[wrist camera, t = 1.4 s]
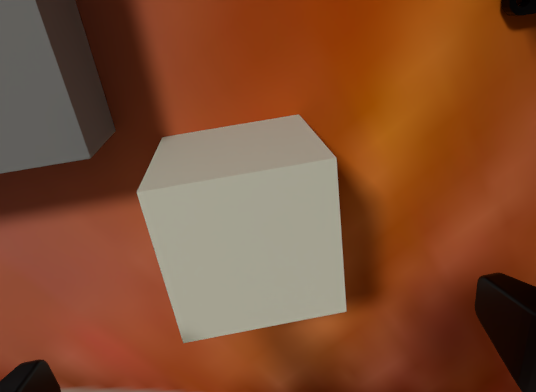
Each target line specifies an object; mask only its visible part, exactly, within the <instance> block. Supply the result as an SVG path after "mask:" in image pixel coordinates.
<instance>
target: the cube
mask: <svg viewBox="0 0 536 392" xmlns="http://www.w3.org/2000/svg"><path fill="white" fill-rule="evenodd" d="M137 195H138V199H139V202H140V205H141V208H142V211H143V215H144V218H145V221H146V224H147V227H148V231H149V234H150V237H151V240H152V244H153V247H154V250H155V253H156V256H157V260H158V263H159V266H160V269H161V272H162V276H163V279H164V282H165V285H166V289H167V292H168V295H169V298H170V301H171V305H172V308H173V311H174V314H175V317H176V321H177V324H178V327H179V330H180V334H181V337H182V340H183V343H186V342H192V341H197V340H202V339H207V338H212V337H217V336H223V335H228V334H233V333H238V332H243V331H248V330H254V329H259V328H264V327H269V326H274V325H279V324H285V323H290V322H295V321H300V320H305V319H310V318H316V317H321V316H326V315H331V314H336V313H341V312H347V311H346V296H345V280H344V265H343V250H342V234H341V219H340V203H339V188H338V173H337V158H336V157H335V156H334V154H333V153H332V152H331V151H330V150H329V149H328V147H327V146H326V145H325V144H324V143H323V142H322V141H321V139H320V138H319V137H318V136H317V135H316V134H315V132H314V131H313V130H312V129H311V128H310V127H309V126H308V124H307V123H306V122H305V121H304V120H303V119H302V117H301V116H300V115H293V116H287V117H281V118H275V119H269V120H263V121H257V122H251V123H245V124H239V125H233V126H227V127H221V128H215V129H209V130H203V131H197V132H191V133H185V134H179V135H173V136H167V137H162V139H161V141H160V143H159V145H158V148H157V150H156V152H155V154H154V156H153V158H152V160H151V163H150V165H149V167H148V169H147V171H146V173H145V175H144V178H143V180H142V182H141V184H140V186H139V188H138V190H137Z"/></svg>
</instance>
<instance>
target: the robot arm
mask: <svg viewBox="0 0 536 392" xmlns="http://www.w3.org/2000/svg"><path fill="white" fill-rule="evenodd" d="M501 3H502V9H503V11H504V13H506V14H507V15H513V16H516V15H527V14H534V13H536V0H522V2H521V3H520V5H519V6H518V5H517V1H516V0H502V1H501ZM475 311H476V315H477V317H478V319H479V321H480V322H481V324H482V326H483V327H484V329H485V331H486V333H487V334H488V336H489V338H490V339H491V341H492V343H493V345H494V346H495V348H496V350H497V351H498V353H499V355H500V356H501V358H502V360H503V362H504V363H505V365H506V367H507V368H508V370H509V372H510V373H511V375H512V377H513V378H514V380H515V381H516V383H517V385H518V386H519V388H520V389H521V390H522V392H536V287H535V286H532V285H530V284H527V283H525V282H522V281H520V280H518V279H515V278H513V277H510V276H508V275H505V274H502V273H493V274H488V275H483V276H481V277H480V278H479V279H478V282H477V290H476V299H475ZM0 392H61V390H60V386H59V384H58V382H57V380H56V378H55V376H54V375H53V373H52V371H51V369H50V367H49V365H48V363H47V362H46V361H44V360H35V361H29V362H24V363H22V364H20V365H18V366H17V367H16V368H15V369H14V370H12V371H11V372H10V373H9V374H8V375H7V376H6V377H4V378H3V379H2V380H1V381H0Z"/></svg>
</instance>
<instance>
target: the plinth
mask: <svg viewBox="0 0 536 392" xmlns="http://www.w3.org/2000/svg"><path fill="white" fill-rule="evenodd" d="M115 131H116V130H115V127H114V123H113V120H112V117H111V114H110V111H109V107H108V104H107V101H106V98H105V95H104V91H103V88H102V85H101V82H100V79H99V75H98V72H97V69H96V66H95V62H94V59H93V56H92V53H91V50H90V46H89V43H88V40H87V37H86V34H85V30H84V27H83V24H82V21H81V17H80V14H79V11H78V8H77V5H76V1H75V0H0V173H6V172H12V171H18V170H24V169H30V168H36V167H42V166H48V165H54V164H60V163H66V162H72V161H78V160H84V159H90V158H92V156H93V155H94V154H95V153H96V152H97V151H98V150H99V149H100V148H101V147H102V145H103V144H104V143H105V142H106V141H107V140H108V139H109V138H110V137H111V136H112V135H113V133H114V132H115Z"/></svg>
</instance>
